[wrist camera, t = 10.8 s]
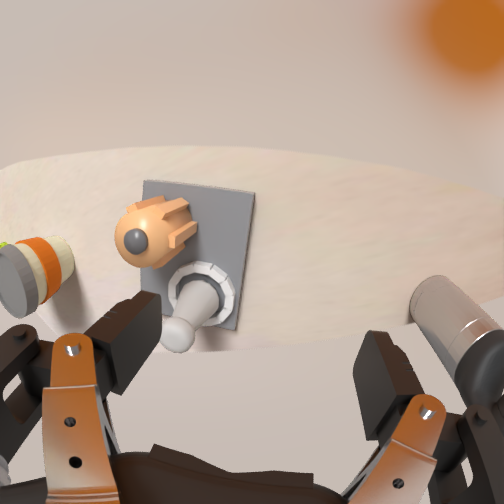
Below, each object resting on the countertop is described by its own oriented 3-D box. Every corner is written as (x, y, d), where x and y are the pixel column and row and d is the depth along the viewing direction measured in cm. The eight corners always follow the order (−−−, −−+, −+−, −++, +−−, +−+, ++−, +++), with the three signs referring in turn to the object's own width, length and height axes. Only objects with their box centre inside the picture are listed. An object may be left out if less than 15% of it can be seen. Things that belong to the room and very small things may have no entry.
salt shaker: (230, 295, 41) (207, 347, 29) (205, 316, 43) (176, 369, 30) (202, 267, 40) (168, 310, 28) (178, 289, 42) (140, 335, 30)
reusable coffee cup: (39, 268, 48) (-9, 295, 34) (44, 216, 44) (-12, 236, 30) (77, 297, 48) (29, 333, 34) (85, 243, 44) (27, 273, 30)
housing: (254, 192, 38) (239, 205, 26) (236, 323, 45) (219, 375, 33) (149, 179, 39) (99, 188, 27) (146, 303, 46) (109, 343, 34)
